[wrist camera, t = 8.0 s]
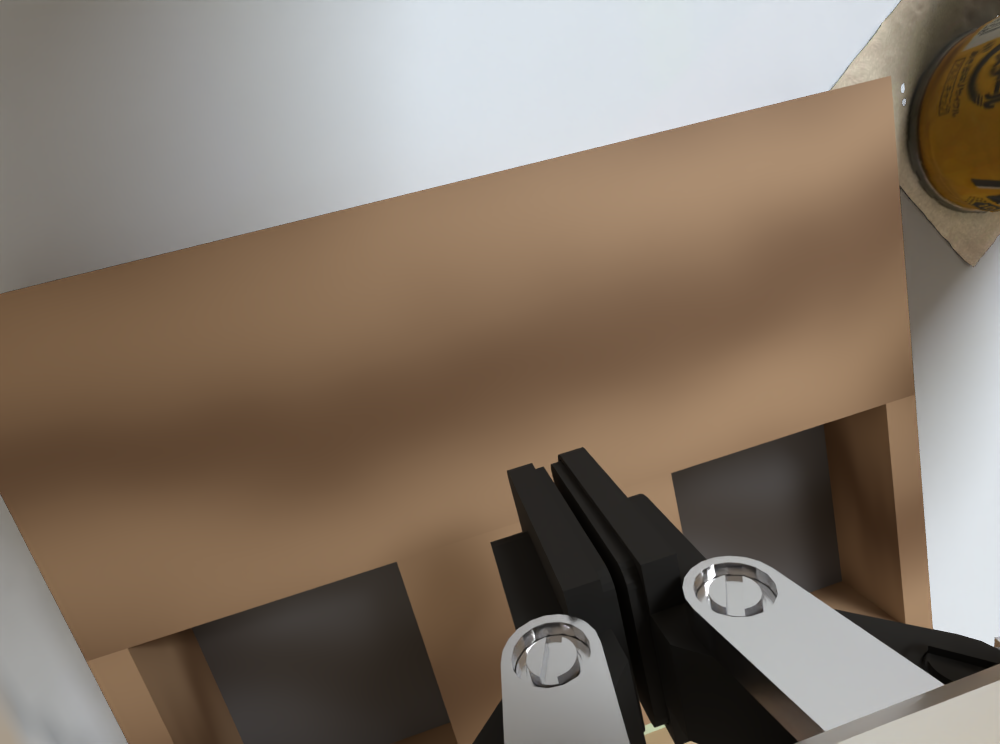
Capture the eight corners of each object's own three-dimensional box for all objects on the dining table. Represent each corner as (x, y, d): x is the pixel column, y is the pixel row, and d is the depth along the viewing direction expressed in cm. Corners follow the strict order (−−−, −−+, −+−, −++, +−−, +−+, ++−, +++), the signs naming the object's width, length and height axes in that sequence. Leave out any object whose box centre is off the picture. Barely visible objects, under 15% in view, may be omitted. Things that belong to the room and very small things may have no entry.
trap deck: (10, 306, 14) (-193, 325, 9) (808, 108, 17) (968, 44, 12) (313, 955, 20) (283, 1175, 15) (876, 730, 23) (1004, 857, 18)
